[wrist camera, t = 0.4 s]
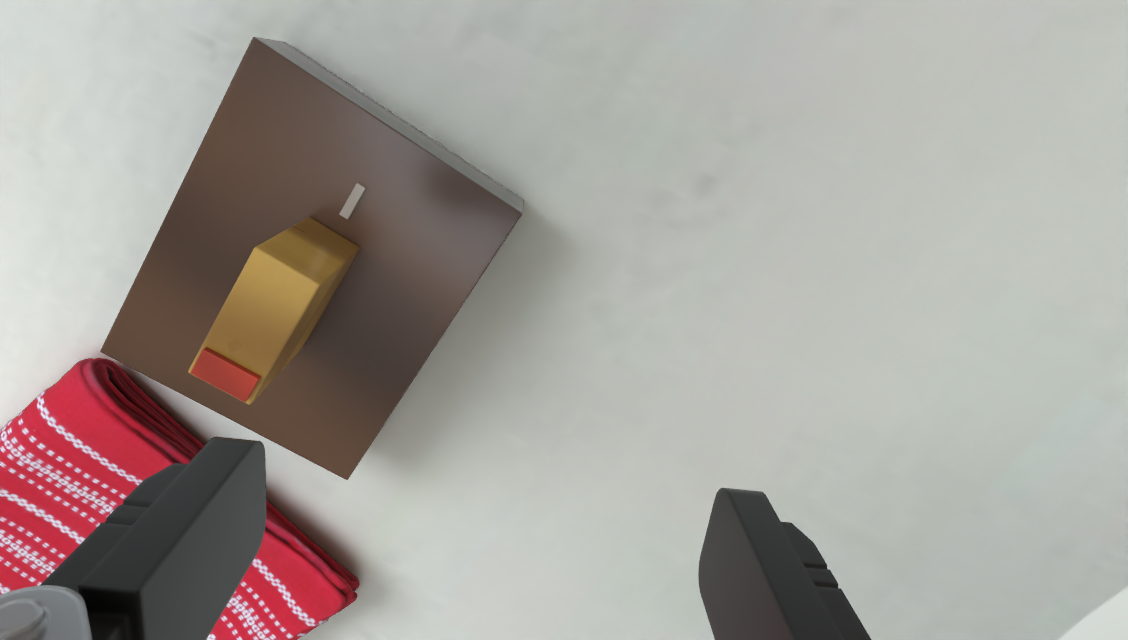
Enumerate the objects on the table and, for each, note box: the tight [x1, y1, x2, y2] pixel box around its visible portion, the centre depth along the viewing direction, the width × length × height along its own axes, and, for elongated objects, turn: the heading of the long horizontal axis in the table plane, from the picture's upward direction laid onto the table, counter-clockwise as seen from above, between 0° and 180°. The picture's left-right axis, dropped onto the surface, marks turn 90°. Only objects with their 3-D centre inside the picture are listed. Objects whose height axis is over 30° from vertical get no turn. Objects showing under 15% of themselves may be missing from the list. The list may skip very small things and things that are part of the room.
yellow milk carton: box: [188, 217, 360, 405], centre depth 23 cm, size 5×2×5 cm, turn 146°
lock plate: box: [101, 37, 524, 480], centre depth 27 cm, size 14×11×3 cm
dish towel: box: [0, 358, 360, 640], centre depth 33 cm, size 17×24×3 cm
